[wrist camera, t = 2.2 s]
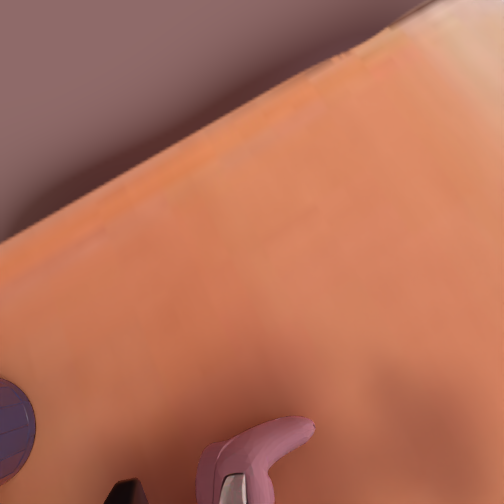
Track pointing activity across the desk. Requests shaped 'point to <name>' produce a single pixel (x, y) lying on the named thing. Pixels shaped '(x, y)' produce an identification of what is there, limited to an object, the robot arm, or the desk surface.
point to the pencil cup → (14, 430)
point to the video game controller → (248, 462)
